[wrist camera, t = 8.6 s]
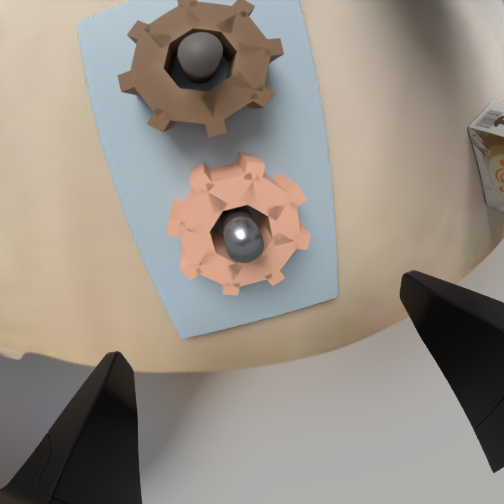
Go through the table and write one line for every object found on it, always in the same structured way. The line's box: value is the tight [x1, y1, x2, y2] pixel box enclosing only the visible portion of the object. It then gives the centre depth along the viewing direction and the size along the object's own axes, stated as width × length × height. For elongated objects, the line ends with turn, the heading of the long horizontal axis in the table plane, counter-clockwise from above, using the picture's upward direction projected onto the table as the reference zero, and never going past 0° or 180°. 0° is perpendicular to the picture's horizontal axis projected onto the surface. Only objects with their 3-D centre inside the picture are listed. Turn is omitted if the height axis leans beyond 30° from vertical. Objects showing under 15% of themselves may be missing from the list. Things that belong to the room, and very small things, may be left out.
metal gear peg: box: [220, 205, 264, 263], centre depth 14 cm, size 2×2×4 cm
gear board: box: [77, 0, 338, 339], centre depth 15 cm, size 12×22×1 cm, turn 11°
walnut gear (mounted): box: [117, 0, 284, 137], centre depth 10 cm, size 7×7×4 cm
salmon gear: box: [167, 152, 311, 296], centre depth 15 cm, size 7×7×3 cm
